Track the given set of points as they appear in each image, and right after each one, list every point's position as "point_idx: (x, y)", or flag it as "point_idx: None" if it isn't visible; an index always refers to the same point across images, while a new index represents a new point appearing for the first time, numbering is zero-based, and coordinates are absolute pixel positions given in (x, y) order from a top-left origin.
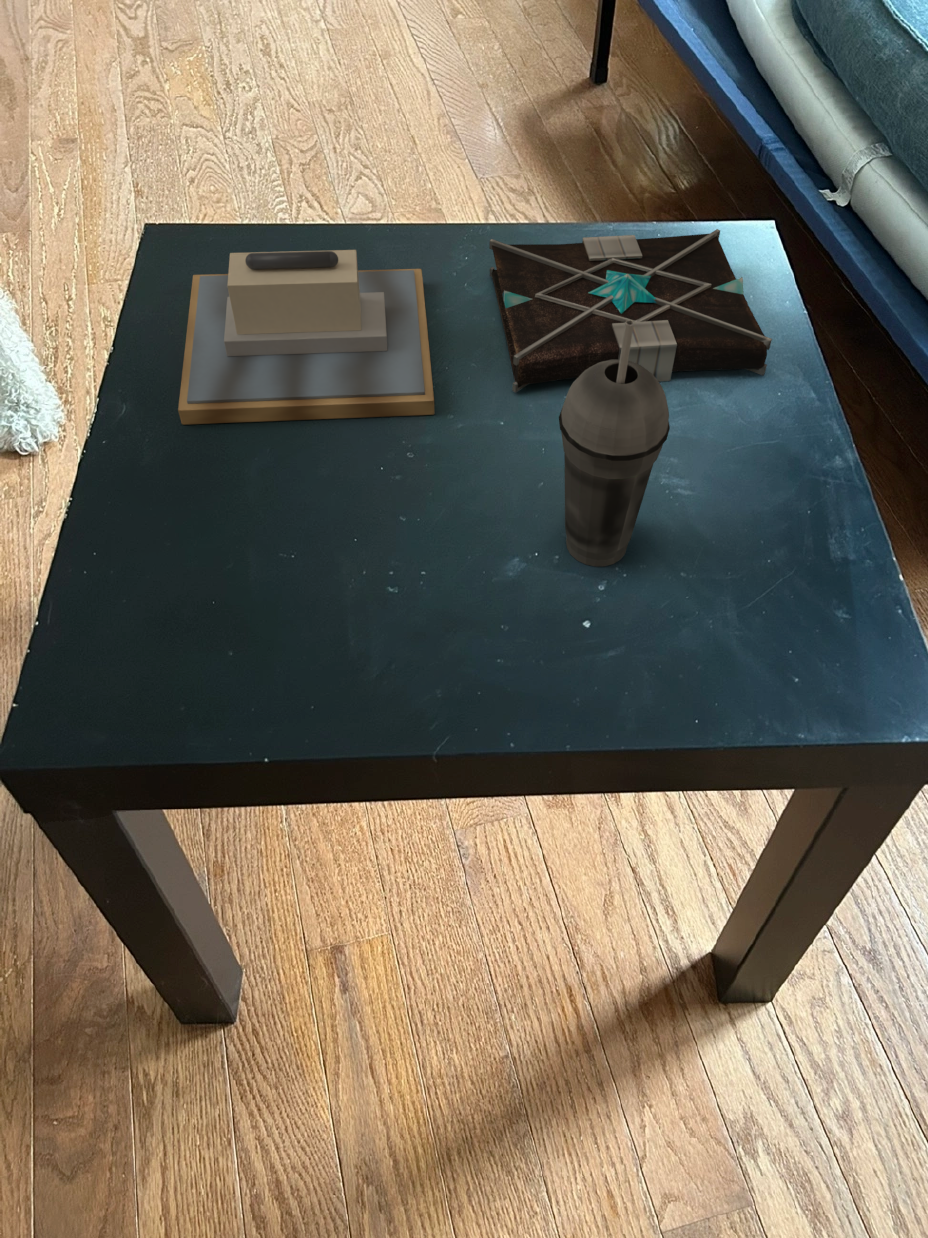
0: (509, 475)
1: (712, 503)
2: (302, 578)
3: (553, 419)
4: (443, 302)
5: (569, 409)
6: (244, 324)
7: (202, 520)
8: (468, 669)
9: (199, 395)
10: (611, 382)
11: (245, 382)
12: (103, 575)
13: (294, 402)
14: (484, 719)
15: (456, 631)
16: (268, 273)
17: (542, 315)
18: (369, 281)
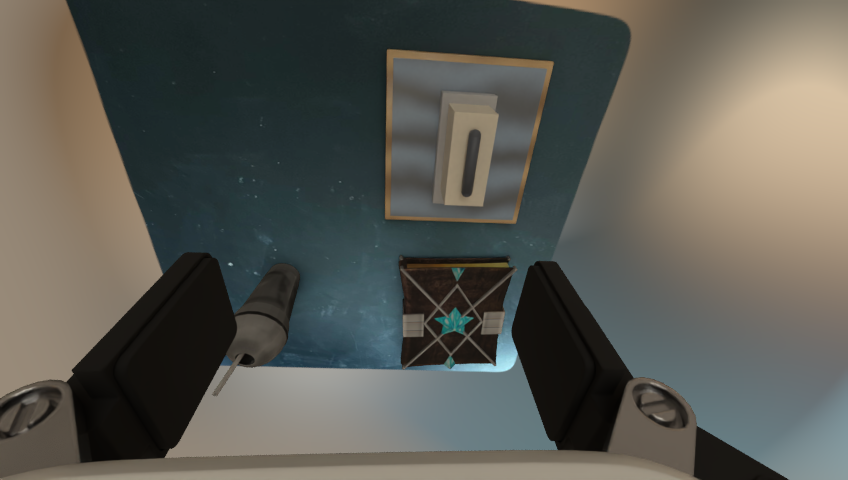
0: (334, 245)
1: (315, 321)
2: (243, 130)
3: (377, 269)
4: (490, 228)
5: (241, 324)
6: (449, 112)
7: (288, 64)
8: (190, 211)
9: (398, 68)
10: (235, 354)
11: (410, 104)
12: None
13: (389, 136)
14: (158, 215)
15: (215, 208)
16: (465, 144)
17: (440, 284)
18: (507, 193)
